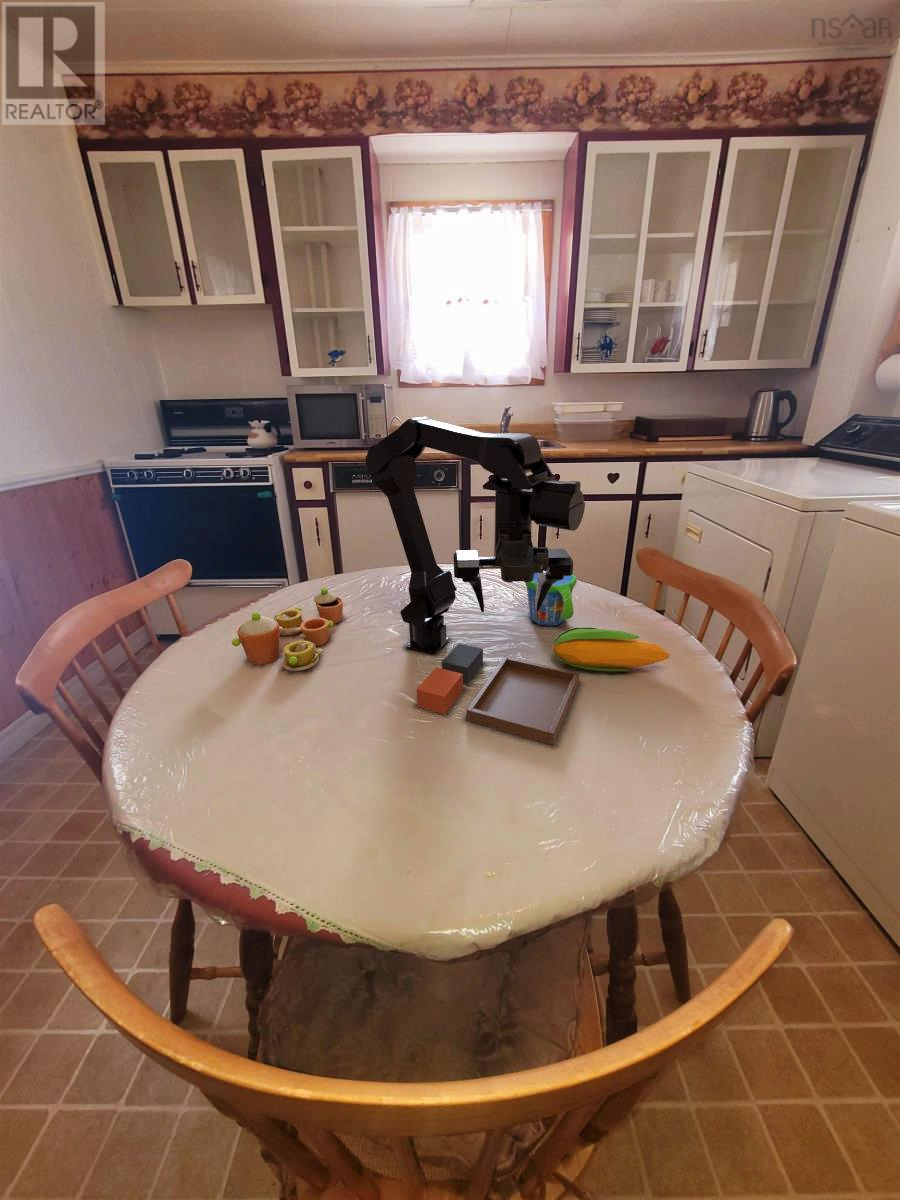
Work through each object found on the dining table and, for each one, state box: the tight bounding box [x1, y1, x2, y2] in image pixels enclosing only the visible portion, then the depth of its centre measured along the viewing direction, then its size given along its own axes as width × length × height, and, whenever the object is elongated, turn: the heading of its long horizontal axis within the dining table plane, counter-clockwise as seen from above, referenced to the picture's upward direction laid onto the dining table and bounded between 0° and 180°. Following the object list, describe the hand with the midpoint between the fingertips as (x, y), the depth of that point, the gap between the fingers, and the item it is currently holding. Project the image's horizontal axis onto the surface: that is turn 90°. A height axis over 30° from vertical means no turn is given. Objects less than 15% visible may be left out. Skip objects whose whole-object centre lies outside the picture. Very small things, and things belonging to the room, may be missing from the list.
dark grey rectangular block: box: [441, 643, 484, 685], centre depth 87 cm, size 5×7×3 cm
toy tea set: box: [231, 587, 344, 672], centre depth 97 cm, size 26×16×10 cm, turn 173°
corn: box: [552, 627, 671, 672], centre depth 86 cm, size 7×8×20 cm
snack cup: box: [524, 573, 578, 627], centre depth 103 cm, size 16×10×10 cm
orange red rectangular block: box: [416, 666, 464, 715], centre depth 80 cm, size 5×7×3 cm
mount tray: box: [466, 656, 580, 746], centre depth 79 cm, size 14×17×2 cm
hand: (509, 610), depth 81 cm, fingers open, 9 cm apart
